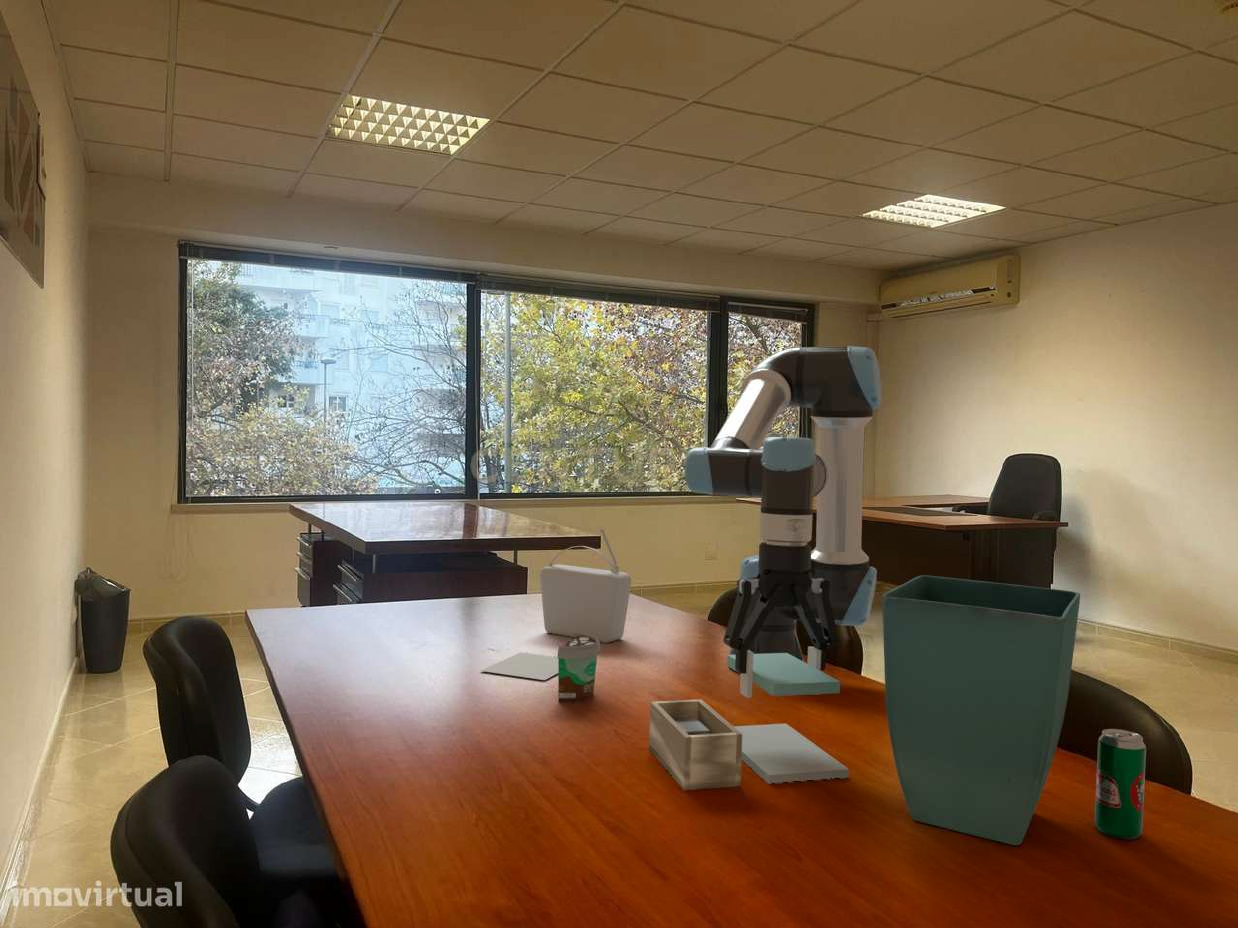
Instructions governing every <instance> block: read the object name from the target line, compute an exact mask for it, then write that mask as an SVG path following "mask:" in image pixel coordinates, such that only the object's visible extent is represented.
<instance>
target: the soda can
mask: <svg viewBox="0 0 1238 928" xmlns="http://www.w3.org/2000/svg"><path fill="white" fill-rule="evenodd" d="M1101 733H1102V734H1101V735H1100V736H1099V738H1098V741H1097V742H1098V743H1097V759H1096V760H1097V761H1096V780H1095V781H1096V784H1095V801H1094V803H1095V804H1094V806H1095V807H1094V825H1095V826H1096V828H1097V829H1098V831H1100V832H1101V833H1103V834H1105V835H1106V836H1108V837H1111V838H1114V839H1119V840H1125V841H1127V840H1129V841H1130V840H1136V839H1138V838H1139V837H1140V836H1141V835H1142V834H1143V827H1144V826H1143V822H1144V800H1145V782H1146V779H1145V776H1146V759H1147V758H1146V757H1147V746H1146V744H1145V743H1144V741H1143V740H1144V737H1143V736H1142V735H1140V734H1138V733H1136V732H1134V731H1129V730H1124V729H1120V728H1119V729H1118V728H1108V729H1107V728H1106V729H1103V730H1102V731H1101Z"/></svg>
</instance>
